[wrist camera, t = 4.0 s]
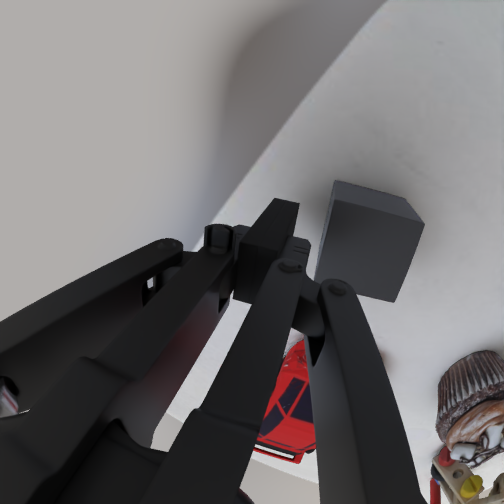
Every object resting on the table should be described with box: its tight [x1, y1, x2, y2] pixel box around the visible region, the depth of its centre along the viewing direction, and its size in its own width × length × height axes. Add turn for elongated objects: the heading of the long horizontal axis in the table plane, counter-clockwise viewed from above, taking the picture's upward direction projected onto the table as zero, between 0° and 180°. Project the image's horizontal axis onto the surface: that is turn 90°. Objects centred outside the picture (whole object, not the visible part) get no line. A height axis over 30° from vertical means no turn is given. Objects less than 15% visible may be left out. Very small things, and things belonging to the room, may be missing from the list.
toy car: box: [253, 340, 316, 464], centre depth 26 cm, size 10×20×5 cm, turn 167°
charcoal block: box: [314, 180, 425, 303], centre depth 16 cm, size 5×5×5 cm
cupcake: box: [435, 351, 504, 468], centre depth 17 cm, size 10×10×10 cm
